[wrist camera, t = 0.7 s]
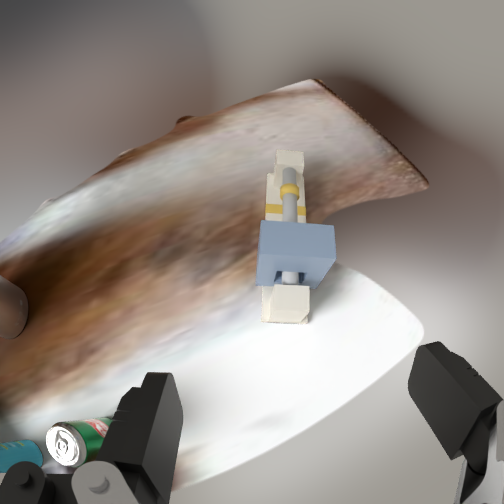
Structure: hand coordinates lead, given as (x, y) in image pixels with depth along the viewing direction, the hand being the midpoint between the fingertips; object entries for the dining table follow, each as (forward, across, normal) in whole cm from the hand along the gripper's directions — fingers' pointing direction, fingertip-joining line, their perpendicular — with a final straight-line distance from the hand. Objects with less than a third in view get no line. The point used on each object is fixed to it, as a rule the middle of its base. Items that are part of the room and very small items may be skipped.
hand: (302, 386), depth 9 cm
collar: (+30, -4, +7) cm, 31 cm away
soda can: (+16, +21, +24) cm, 36 cm away
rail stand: (+35, -4, +4) cm, 35 cm away
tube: (+12, +36, +28) cm, 47 cm away
